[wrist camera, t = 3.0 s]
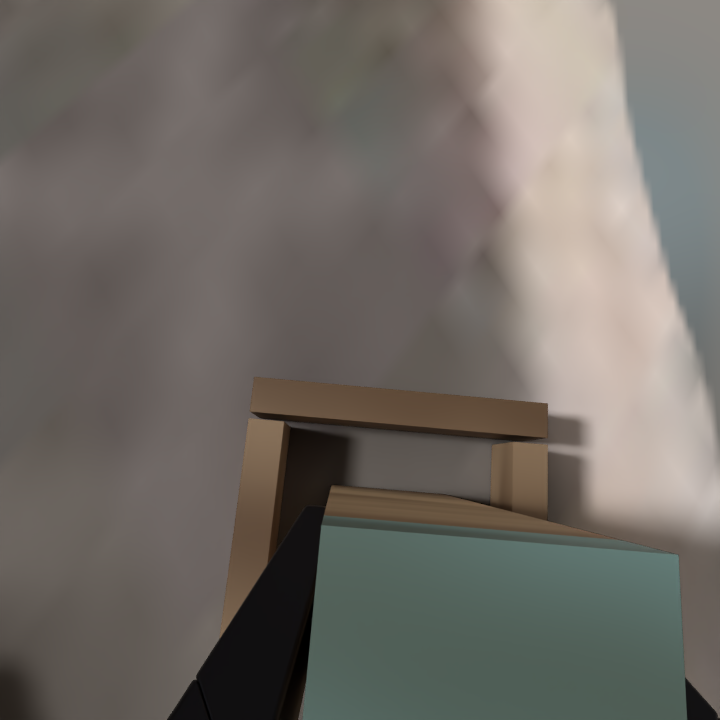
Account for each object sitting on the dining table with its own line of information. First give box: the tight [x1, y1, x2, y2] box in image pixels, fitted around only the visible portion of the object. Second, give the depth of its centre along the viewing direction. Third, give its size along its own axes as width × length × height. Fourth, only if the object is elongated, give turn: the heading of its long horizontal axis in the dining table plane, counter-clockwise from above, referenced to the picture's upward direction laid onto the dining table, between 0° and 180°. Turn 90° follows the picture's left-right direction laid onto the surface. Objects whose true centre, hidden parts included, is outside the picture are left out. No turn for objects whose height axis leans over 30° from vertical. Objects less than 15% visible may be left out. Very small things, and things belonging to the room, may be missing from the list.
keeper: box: [219, 377, 548, 639], centre depth 14 cm, size 8×9×2 cm
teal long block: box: [303, 485, 687, 720], centre depth 10 cm, size 4×4×11 cm
